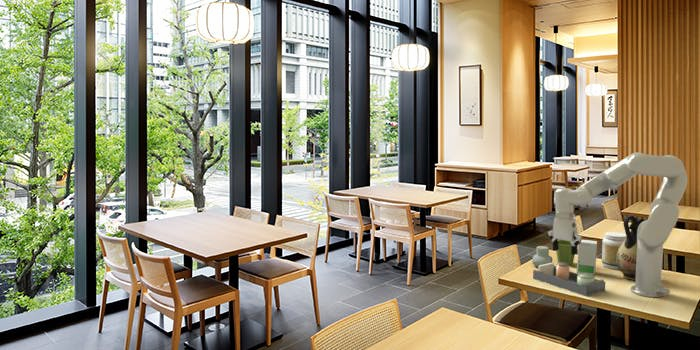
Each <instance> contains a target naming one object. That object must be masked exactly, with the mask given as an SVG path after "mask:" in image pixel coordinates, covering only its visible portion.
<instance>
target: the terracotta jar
mask: <svg viewBox="0 0 700 350" xmlns="http://www.w3.org/2000/svg"><path fill="white" fill-rule="evenodd" d="M555 267H556V277H559V278H562V279H566V280H569V271H570V265H569V264H568V263H565V262H558V261H557V262H556V264H555Z"/></svg>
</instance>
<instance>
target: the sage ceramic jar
mask: <svg viewBox="0 0 700 350" xmlns="http://www.w3.org/2000/svg"><path fill="white" fill-rule="evenodd" d="M578 274H579V275H577V283H579V284H582V285H585V286H586V283H590V282H594V281H595V279H596V278H595V276H594V275H592V274H588V273H578Z"/></svg>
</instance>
